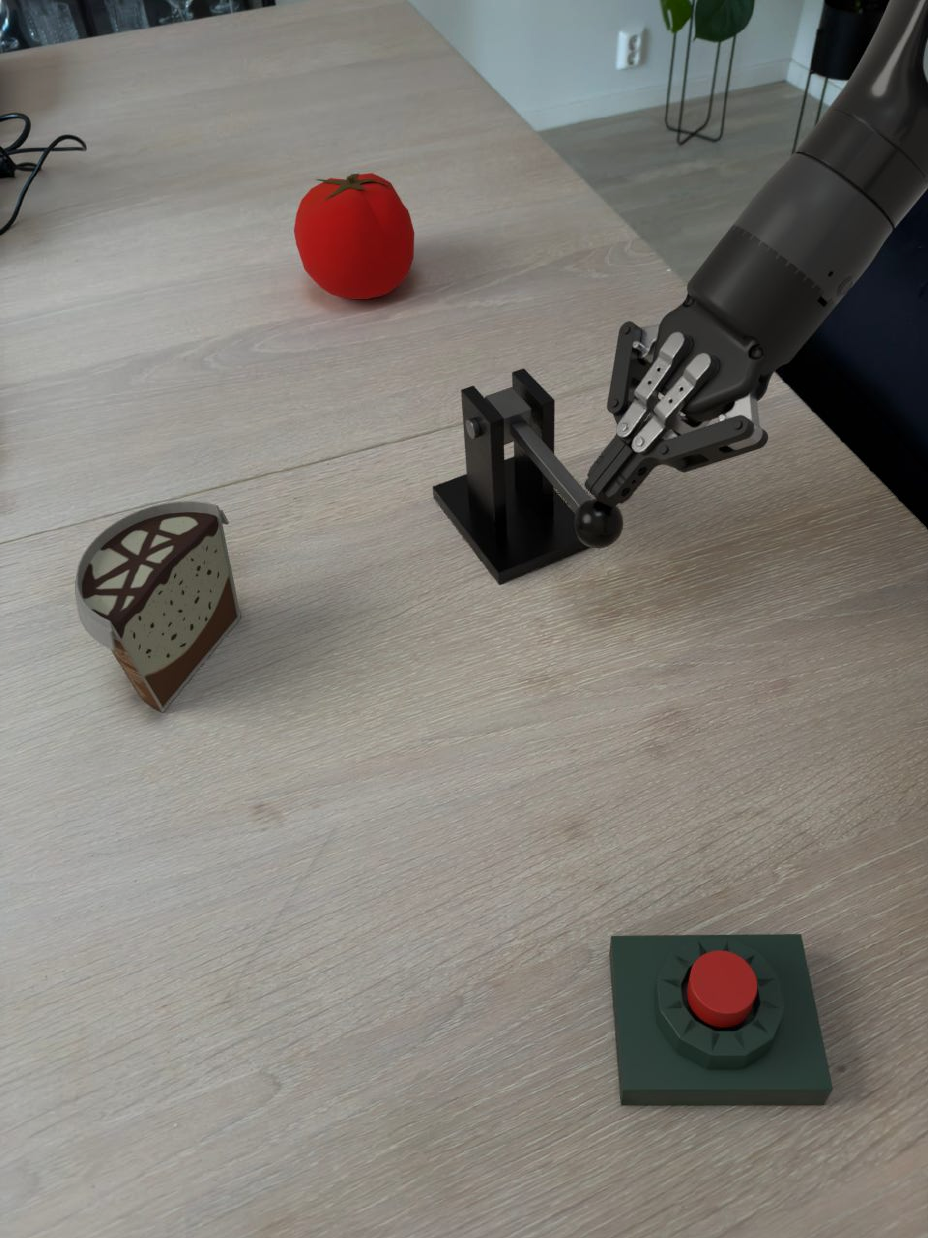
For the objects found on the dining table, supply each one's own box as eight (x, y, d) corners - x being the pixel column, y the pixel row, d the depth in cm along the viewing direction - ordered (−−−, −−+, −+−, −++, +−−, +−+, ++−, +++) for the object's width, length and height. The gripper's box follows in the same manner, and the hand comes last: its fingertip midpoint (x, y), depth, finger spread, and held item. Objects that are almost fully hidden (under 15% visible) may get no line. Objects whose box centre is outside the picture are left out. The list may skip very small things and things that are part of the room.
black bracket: (593, 546, 81) (599, 418, 73) (499, 585, 79) (493, 457, 71) (522, 464, 88) (519, 338, 79) (433, 497, 86) (420, 371, 77)
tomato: (392, 326, 103) (379, 214, 94) (283, 309, 106) (261, 198, 98) (438, 262, 110) (430, 153, 102) (335, 248, 113) (319, 140, 105)
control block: (794, 952, 59) (807, 917, 56) (824, 1105, 54) (840, 1076, 51) (609, 954, 60) (612, 919, 57) (620, 1105, 54) (625, 1076, 51)
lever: (631, 547, 70) (635, 512, 68) (588, 565, 69) (590, 529, 67) (518, 415, 79) (518, 379, 76) (478, 429, 78) (478, 393, 75)
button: (747, 965, 55) (751, 949, 54) (757, 1028, 53) (762, 1013, 52) (683, 966, 55) (686, 950, 54) (691, 1028, 53) (694, 1013, 52)
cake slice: (183, 580, 81) (147, 476, 74) (252, 604, 79) (222, 499, 72) (76, 700, 74) (24, 598, 67) (149, 729, 72) (103, 628, 65)
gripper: (684, 182, 64) (507, 421, 69) (839, 284, 56) (624, 545, 61) (746, 241, 69) (576, 458, 75) (894, 342, 61) (692, 576, 67)
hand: (598, 497), depth 68 cm, fingers closed
